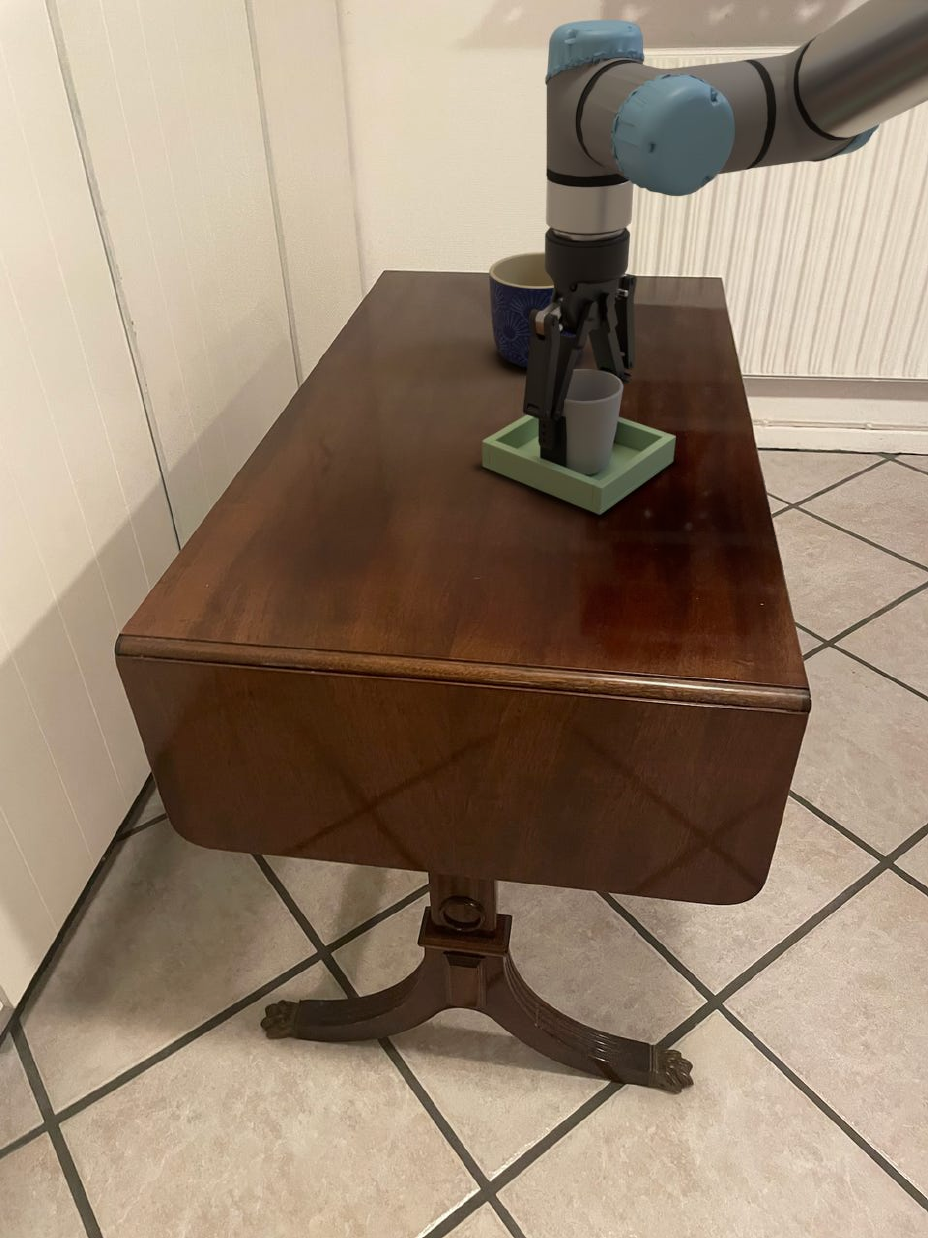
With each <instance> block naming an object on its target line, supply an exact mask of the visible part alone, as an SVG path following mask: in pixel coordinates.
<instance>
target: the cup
mask: <svg viewBox="0 0 928 1238" xmlns="http://www.w3.org/2000/svg"><path fill="white" fill-rule="evenodd" d="M623 391H624V383H622V382H621V380H620V379H619V378H618V377H617V376H615V375H613V374H611V373H608V372H604V371H600V370H598V369H592V368H577V369H575V368H574V371H573V374H572V378H571V382H570V386H569V389H568V393H567V397H566V399H565V400H564V408H563V412H562V415H561V416H564V417H566V429H567V450H566V468H567V469H570V470H572V471H575V472H578V473H580V474H583V475H589V474H594V473H597V472H599V471H601V470H603V469H604V468H606V467H607V465H608V464H609V460H610V456H611V451H612V446H613V441H614V437H615V432H616V427H617V421H618V417H619V416H620V415H619V414H620V409H621V405H622V404H621V403H622V397H623ZM552 405H553V403H552Z"/></svg>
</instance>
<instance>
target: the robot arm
mask: <svg viewBox="0 0 928 1238" xmlns="http://www.w3.org/2000/svg"><path fill="white" fill-rule="evenodd" d="M548 41H549V43H548V56H547V69H546V75H545V77H544V82H545V83H544V84H545V85H546V166H545V168H546V173H545V174H546V175H545V176H546V195H545V196H546V200H545V223H546V225H547V226H548V227H549V228H548V229H547V230H546V232H545V234H544V252H545V270H546V272H547V274H548V275H549V276H550V277H551V279H552V280H553V283H554V288H553V293H552V296H551V300H550V305H549V306H548V307H547V308H545V309H544V310H543V311H539V310H536V309H533V310H532V311H531V312H530V314H529V324H530V332H531V340H530V349H529V358H528V367H526V368H527V369H526V376H525V386H524V394H523V403H522V413H523V414H524V415H525V416H526V415H529V416H532V417H535V418H538V419H539V428H538V432H539V433H538V436H539V437H538V442H539V446H540V458H542V459H544V460H547V461H549V462H552V463H555V464H557V465H560V466H562V467H565V468H566V450H567V429H566V417H564V416H561V415H562V412H563V408H564V400H565V399H566V397H567V393H568V389H569V386H570V382H571V378H572V374H573V371H574V370H575V367H576V364H577V360H578V356H579V355H578V352H579V350H580V349H581V348H583V349H584V347H585V346H586V343H587V341H588V337H589V342H590V346H591V349H592V353H593V357H594V361H595V365H596V370H600V371H604V372H608V373H611V374H613V375H615V376H617V377H618V378H619V379H620V380H621V382H622V384H623V385H628V384H629V383H630V381H631V380H632V374H631V373H628V372H627V370H628V371H632V370H633V369H634V368H635V365H636V333H635V330H636V329H635V295H636V287H637V282H638V277H637V275H634V274H630V273H626V272H627V270H628V268H629V259H630V257H629V256H630V243H631V232H630V231H629V229H628V228H627V227H628V226H629V225H630V224H631V223H632V221H633V206H634V205H633V203H634V185H636V186H637V187H638V188H639V189H645V190H647V191H648V192H651V193H657V194H663V195H664V196H665V195H666V196H668V197H669V196H671V197H683V196H684V197H685V196H689V195H692V194H694V193H697V192H698V191H699V190H700V189H702V188H704V187H705V186H707V184H709V183H710V182H712V181H713V180H714V179H716V177H717V176H718V175H723V174H730V173H737V172H741V171H749V170H751V169H758V168H767V167H774V166H780V165H789V164H796V163H803V162H812V163H818V162H824V161H828V160H830V159H832V158H833V159H834V158H836V157H838V156H843V155H846V154H847V155H848V154H851V153H854V152H856V151H858V150H859V149H861V148H863V147H865V145H866V144H868V143H869V141H870V140H871V137H872V136H873V134H874V133H875V132H876V131H877V130H878V129H879V127H880V125H881V124H884V122H888V121H889V120H891V119H893V118H895V117H897V116H899V115H902V114H904V113H905V112H907V111H909V110H911V109H914V108H916V107H918V106H920V105H922V104H924V103H926V102H928V0H867V1H865V2H864V3H862V4H861V5H860V6H859V5H858V6H857V7H856V8H855V9H854V10H852V11H851V12H849V13H847V14H846V15H844V16H843V17H842V18H840V19H839V20H837V21H836V22H835V23H833V24H831V25H830V26H828V27H827V28H826V29H825V30H823V31H822V32H820V33H819V34H818V35H816V36H815V37H813V38H811V39H810V40H808V41H807V42H805V43H804V44H803V45H800V46H799V47H798V48H796V49H795V50H793V51H791V52H789V53H785V54H782V55H774V56H767V57H759V58H750V59H749V58H747V59H743V60H742V59H741V60H737V61H728V62H726V61H725V62H718V63H716V62H715V63H709V64H708V63H707V64H700V65H699V64H697V65H691V66H682V67H674V68H660V67H654V66H650V65H645V64H644V62H645V57H646V56H645V53H644V36H643V33H642V31H641V27H640V26H639V25H638V24H637V23H635V22H633V21H627V20H618V19H593V20H580V21H572V22H567V23H564V24H561V25H559V26H557V27H556V28H555V29H554V30H553V32H552V33H551V35H550V37H549V40H548ZM562 329H563V331H565V332H566V333H570V334H573V335H576V336H575V337H574V338H573V337H569V336H566V335H563V334H562ZM622 353H623V354H622ZM552 403H553V405H552ZM615 442H616V432H615V437H614V441H613V444H614V443H615Z"/></svg>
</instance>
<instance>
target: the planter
mask: <svg viewBox="0 0 928 1238" xmlns="http://www.w3.org/2000/svg"><path fill="white" fill-rule="evenodd" d="M488 273H489V274H488V277H489V296H490V297H489V298H490V313H491V315H490V316H491V326H492V335H493V340H494V344H495V348H496V350H497V352H498V353H499V355H500V356H501V357H502V358H503V359H505V361H507V362H508V363H511V364H512V365H515V366H517V367H518V366H519V367H522V368H527V367H528V358H529V349H530V340H531V332H530V324H529V314H530V312H531V311H532V310H533V309H536V310H539V311H543V310H544V309H545V308H547V307H548V306H549V305H550V300H551V296H552V293H553V288H554V283H553V280H552V279H551V277H550V276H549V275H548V274H547V272H546V270H545V251H542V252H541V251H540V252H538V251H537V252H526V253H520V254H515V255H509V256H506V257H504V258H502V259H500V260H498V261H496V262H494V263H493V264H492V265H491V266H490V268H489V270H488ZM562 334H563V335H566V336H569V337H573V338H574V337H575V336H576V335H573V334H570V333H566V332H565V331H563V329H562ZM583 349H584V347H583V348H581V349H580V350H579V352H578V356H579V355H580V354H581V353H582V351H583Z"/></svg>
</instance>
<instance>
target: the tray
mask: <svg viewBox="0 0 928 1238" xmlns="http://www.w3.org/2000/svg"><path fill="white" fill-rule="evenodd" d="M538 428H539V419H538V418H535V417H532V416H529V415H526V414H525V415H524V416H522V417H519V418H518V419H517V420H515V421H513V422H511V423H510V424H507V426H505V427H503V428H502V429H500V430H498V431H497V432H495V433H493V434H491V435H490V436H488V437H486V438H484V439H483V440H481V460H482V467H483V468H485V469H488V470H490V471H492V472H495V473H498V474H500V475H502V476H504V477H507V478H509V479H512V480H514V481H517V482H519V483H522V484H524V485H526V486H529V487H531V488H534V489H536V490H538V491H541V492H542V493H546V494H549V495H551V496H553V497H556V498H558V499H560V500H563V501H565V502H567V503H570V504H572V505H575V506H578V507H580V508H581V509H585V510H586V511H589V512H592V513H594V514H596V515H602V514H603V513H605V512H606V511H607V510H609V509H610V508H611V507H613V506H615V505H616V504H617V503H618V502H620V501H621V500H623V499H624V498H625V497H627V496H628V495H629V494H631V493H632V492H634V491H635V490H636V489H638V488H639V487H640V486H642V485H643V484H645V483H647V482H648V481H649V480H651V478H653V477H654V476H656V475H657V474H658V473H660V472H661V471H662V470H664V469H666V468H667V467H668V466H669V465H671V464H672V463H673V462H674V460H675V459H674V456H675V449H676V440H677V439H676V438H677V436H676V435H675V434H671V433H667V432H665V431H662V430H659V429H656V428H653V427H650V426H647V425H644V424H641V423H638V422H637V421H633V420H629V419H627V418H624V417H621V416H618V421H617V427H616V442H615V443H614V444H613V446H612V451H611V456H610V460H609V464H608V465H607V467H606V468H604V469H603V470H601V471H599V472H597V473H594V474H589V475H583V474H580V473H578V472H575V471H572V470H570V469H567V468H565V467H562V466H560V465H557V464H555V463H552V462H549V461H547V460H544V459H542V458H540V446H539V442H538V437H539V436H538V433H539V432H538Z"/></svg>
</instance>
